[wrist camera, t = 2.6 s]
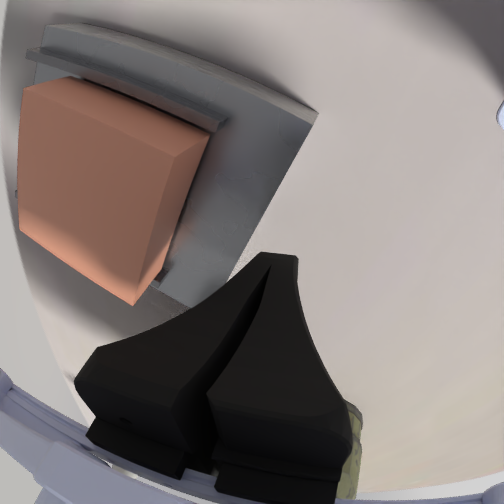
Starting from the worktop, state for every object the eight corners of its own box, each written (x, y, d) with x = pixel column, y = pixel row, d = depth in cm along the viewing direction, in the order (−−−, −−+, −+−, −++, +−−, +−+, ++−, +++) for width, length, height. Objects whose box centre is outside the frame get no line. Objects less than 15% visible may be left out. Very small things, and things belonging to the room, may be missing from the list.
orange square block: (210, 134, 10) (174, 157, 8) (161, 268, 14) (132, 306, 12) (71, 75, 10) (23, 88, 8) (54, 203, 14) (19, 229, 12)
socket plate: (318, 113, 11) (310, 130, 9) (223, 285, 17) (200, 328, 15) (82, 23, 11) (32, 26, 8) (54, 187, 17) (16, 212, 14)
